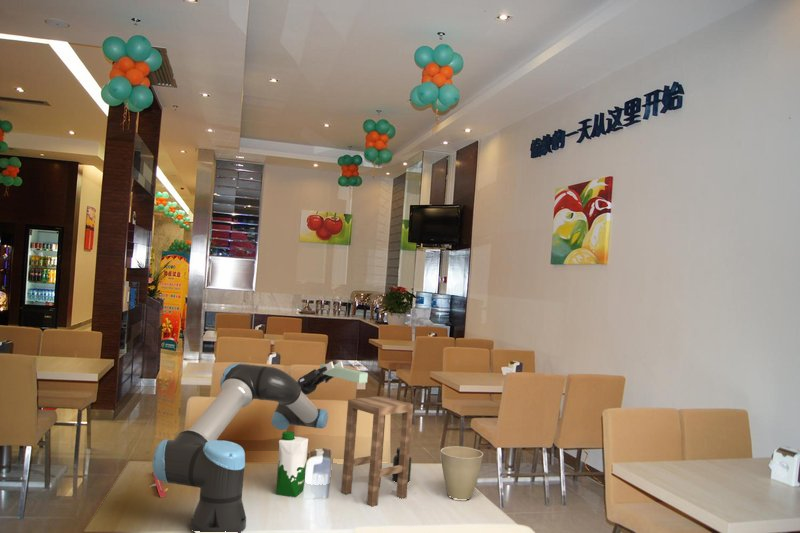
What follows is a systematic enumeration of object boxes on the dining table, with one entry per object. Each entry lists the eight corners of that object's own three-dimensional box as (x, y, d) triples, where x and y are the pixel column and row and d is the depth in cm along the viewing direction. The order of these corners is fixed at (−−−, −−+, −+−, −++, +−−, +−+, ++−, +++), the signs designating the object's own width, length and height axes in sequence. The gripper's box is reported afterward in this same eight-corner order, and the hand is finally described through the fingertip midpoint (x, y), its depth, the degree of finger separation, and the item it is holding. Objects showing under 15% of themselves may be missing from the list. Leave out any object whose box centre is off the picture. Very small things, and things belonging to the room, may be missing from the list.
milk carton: (282, 487, 211) (286, 429, 212) (307, 490, 209) (311, 432, 210) (272, 495, 202) (276, 434, 203) (297, 498, 201) (302, 437, 201)
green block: (367, 382, 225) (367, 373, 226) (358, 383, 223) (359, 373, 223) (327, 372, 243) (328, 363, 243) (319, 373, 240) (320, 364, 240)
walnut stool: (371, 506, 198) (379, 408, 199) (341, 492, 210) (348, 399, 211) (406, 497, 209) (413, 404, 211) (375, 484, 221) (382, 396, 222)
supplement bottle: (413, 481, 228) (415, 448, 228) (403, 485, 222) (405, 452, 223) (398, 476, 232) (400, 445, 232) (388, 480, 226) (390, 448, 227)
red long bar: (154, 501, 193) (169, 495, 195) (152, 495, 192) (168, 489, 194) (147, 477, 214) (161, 472, 216) (145, 472, 214) (159, 467, 216)
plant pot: (447, 487, 223) (450, 443, 224) (485, 496, 217) (488, 451, 217) (430, 498, 210) (434, 452, 211) (471, 508, 203) (474, 460, 204)
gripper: (284, 378, 245) (317, 356, 231) (319, 376, 257) (351, 355, 243) (288, 396, 242) (321, 374, 228) (323, 393, 254) (356, 372, 240)
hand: (337, 364), depth 236 cm, fingers closed on green block, 4 cm apart
